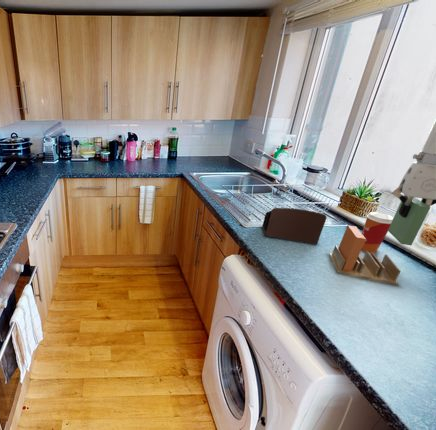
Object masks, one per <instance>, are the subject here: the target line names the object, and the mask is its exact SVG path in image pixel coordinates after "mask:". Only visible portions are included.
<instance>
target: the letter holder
mask: <svg viewBox="0 0 436 430" xmlns="http://www.w3.org/2000/svg"><path fill="white" fill-rule="evenodd" d="M326 221H327V215H326V214H324V213H320V212H317V211H311V210H306V209H300V208H289V207H273V208H272V209H271V210H269V211H267V212H265V215H264V219H263V221H262V226H261V228H262V230H263V234H264V237H268V238H275V239H281V240H286V241H293V242H298V243H305V244H311V245H316V246H317V245H318V243H319V240H320V237H321V235H322V232H323V229H324V226H325V224H326Z"/></svg>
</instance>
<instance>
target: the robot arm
mask: <svg viewBox="0 0 436 430" xmlns="http://www.w3.org/2000/svg"><path fill="white" fill-rule="evenodd" d="M412 159H413V160H416V161H413V162H412V163H411V165H409V167H408V168H407V170H406V171H405V173H404V175H403V177H402V179H401V180H400V183H399V185H398V187H397V188H395V190H393V191H392V192H391V195H392V196H394V197H396V198H398V199H399V201H400V203H401V202H402V205H401V207H400V210H399V214H400V215H401V216H402V217H404V218H405V217H407V215H408V213H409V210H410V208H411V206H410V204H411V202H412V200H413V198H414V197H415V198H417V199H421V200H420V201H421V202H423V203H424V204H426V205H428V206H429V207H431V206H433V205H436V119H435V120H434V122H433V123H432V126H431V128H430V131H429V133H428V136H427V137H426V140H425V141H424V144H423V146H422V148H421V150H420V151H419V153H417V154H416V153H415V154H413V155H412Z"/></svg>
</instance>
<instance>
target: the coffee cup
mask: <svg viewBox="0 0 436 430" xmlns="http://www.w3.org/2000/svg"><path fill="white" fill-rule="evenodd" d="M393 218H394V216H392V215H390V214H386V213H383V212H379V211H370V212H369V213H368V214H366V220H365V222H364V225H363V227H362V231H361V233H362V235H363V236H364V237H365V238H366V240H365V243H364V245H363V247H362V249H361V252H365V253H366V251H368V252H369V253H371V252H373V253H374V254H375V253H376V252H377V251H378V250H379V248H380V246H381V244H382V243H383V241H384V239H385V238H386V236H387V234H388V233H389V231H388V229H389V227H390V225H391V223H392V220H393Z"/></svg>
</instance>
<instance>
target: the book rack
mask: <svg viewBox="0 0 436 430" xmlns="http://www.w3.org/2000/svg"><path fill="white" fill-rule="evenodd" d="M328 256H329V258H330V260H331V263H332V264H333V266H334V268H335V270H336V273H337V274H339V275H343V276H344V275H345V276H349V277H353V278H359V279H363V280H368V281H374V282H378V283H382V284H387V285H392V286H397V287H398V286H399V284H400V282H399V281H398V280H397V279H398V278H399V276H400V274H401V272H402V271H401V269H400V268H399V267H398V265H396V263H394V261H393V260H392V258H391V257H389V255H388V254H387V253H386V254H384V256H383V258H382V260H381V261H380V259H379V258H378V257H377V256H376V254H375V253H373V252H371V253H369V252H368V251H366V252H365V253H364V255H363V257H361V256H360V255H359V256H358V258H357V261H356V263H355V265H354V267H353V270H352V271H347V270H343V269H342V268H343V265H344V263H345V259H344V257H343V255H342V254H341V252H340V250H339V246H338V245H335V246H334V248H333V250H332V252H329V253H328Z"/></svg>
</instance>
